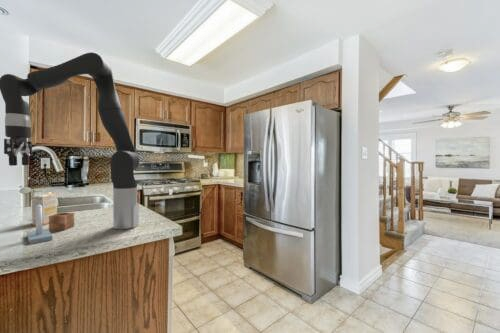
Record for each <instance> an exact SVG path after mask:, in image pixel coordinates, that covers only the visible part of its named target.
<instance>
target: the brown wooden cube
mask: <svg viewBox="0 0 500 333" xmlns="http://www.w3.org/2000/svg"><path fill="white" fill-rule="evenodd" d="M74 227H75V212H57V214H54V215H51V216H49V224H48V230H49V231H50V232H51V231H52V232H55V231H56V232H57V231H58V232H59V231H67V230H69V229H71V228H74Z"/></svg>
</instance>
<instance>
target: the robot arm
mask: <svg viewBox="0 0 500 333" xmlns="http://www.w3.org/2000/svg"><path fill="white" fill-rule="evenodd" d="M112 70H113V69H112V67H111V64H109V62H108V61H107V60H106V59H105V58H103V57H102V56H101V55H100V54H98V53H96V52H86V53H83V54H80V55H79V56H76V57H74V58H71V59H70V60H66V61H65V62H62V63H60V64H57V65H54V66H51V67H46V68H43V69H38V70H34V71H30V72H29V73H28V74H27V75H26V77H27V78H21V77H20V76H17V75H14V74H11V73H6V74H3V75H1V76H0V94H1V96H2V99H3V101H4V104H5V105H4V107H5V108H4V109H5V110H4V111H5V112H4V113H5V116H4V129H5V131H4V134H5V137H6V138H4V139H3V154H4V155H7V157H8V166H10V167H13V166H18V154H19V153H20V155H21V165H22V166H30V157H31V156H33V142H32V141H30V140H27V139H31V138H32V121H31V115H30V114H31V113H30V112H31V111H30V104H29V103H28V102H27V101H25V100H24V98H23V97H28V96H29V97H30V96H33V95H35V94H38V93H39V92H41V91H42V90H46V89H51V88H54V87H57V86H60V85H63V84H64V83H65V82H67V81H68V80H69V79H70V78H73V77H76V76H80V75H81V76H82V75H89V76H90V77H91V78H92V79H93V81H94V84H95V87H96V89H97V92H98V93H97V94H98V97H97V98H98V99H97V111H98V114H99V118H100V121H101V123H102V126H103V127H104V129H105V131H106V133H107V134H108V135H109V136H110V139H111V140H112V141H113V143H114V146H115V149H116V152H114V153H113V154H112V155H111V158H110V162H109V163H110V178H111V183H112V187H113V188H112V191H113V192H112V204H113V206H112V214H113V215H112V216H113V217H112V218H113V219H112V220H113V221H112V222H113V223H112V225H113V227H112V228H113V229H115V230H129V229H134V228H136V227H138V225H139V224H140V215H139V214H140V204H139V203H138V181H137V180H136V179H135V174H134V173H135V172H134V171H135V170H137V169H138V167H139V166H140V157H139V155H138V152H137V149H136V147H135V146H134V143H133V140H132V137H131V134H130V130H129V126H128V124H127V120H126V116H125V113H124V110H123V107H122V104H121V101H120V98H119V95H118V92H117V89H116V86H115V81H114V76H113V71H112Z"/></svg>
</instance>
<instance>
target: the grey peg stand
mask: <svg viewBox="0 0 500 333" xmlns="http://www.w3.org/2000/svg"><path fill="white" fill-rule="evenodd" d="M43 226H44V225H43V224H42V205H37V206H36V226H35V230H32V231H27V232H26V238H27V241H28V244H29V245H32V244H38V243H43V242H44V243H45V242H50V241H53V235H52V233H51V231H49V228H45V229H44V227H43Z"/></svg>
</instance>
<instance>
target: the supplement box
mask: <svg viewBox="0 0 500 333" xmlns="http://www.w3.org/2000/svg"><path fill="white" fill-rule="evenodd" d="M57 204H58V202H57V193H48V192H47V193H43V194H37V195H33V196H31V210H32V211H31V214H32V215H31V220H32V223H31V224H32V226H34V227H36V206H37V205H42V224H43V226H45V225H49V216H51V215H54V214H57V213H58V206H57Z"/></svg>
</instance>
